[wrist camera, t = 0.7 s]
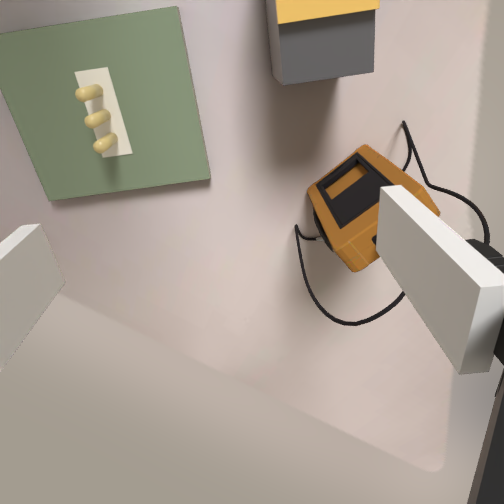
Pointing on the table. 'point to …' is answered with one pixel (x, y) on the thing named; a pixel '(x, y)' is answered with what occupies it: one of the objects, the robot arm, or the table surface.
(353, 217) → the multimeter
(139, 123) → the board
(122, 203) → the table surface
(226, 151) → the table surface
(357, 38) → the block
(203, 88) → the table surface
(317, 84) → the table surface
